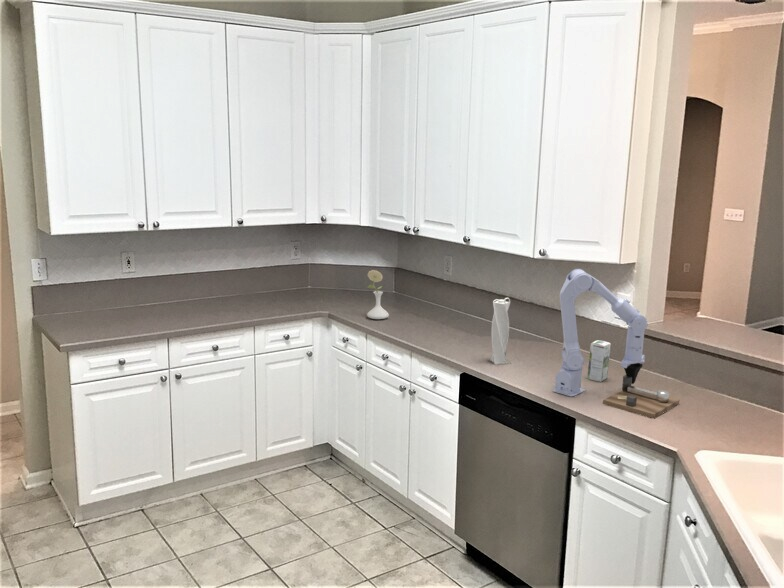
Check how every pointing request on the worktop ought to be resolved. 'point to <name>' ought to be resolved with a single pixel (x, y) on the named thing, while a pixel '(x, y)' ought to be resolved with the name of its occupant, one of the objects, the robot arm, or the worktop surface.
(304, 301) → the worktop surface
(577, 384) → the robot arm
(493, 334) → the skyscraper
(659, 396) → the press lever
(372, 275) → the flower in vase
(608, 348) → the syrup box
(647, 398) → the board
